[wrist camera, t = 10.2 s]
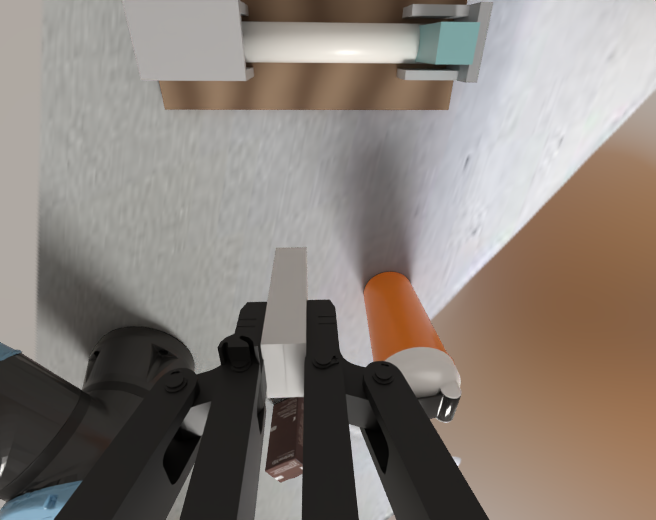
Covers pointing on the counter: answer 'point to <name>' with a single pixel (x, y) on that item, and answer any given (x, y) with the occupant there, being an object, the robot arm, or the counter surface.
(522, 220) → the counter surface
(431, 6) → the socket
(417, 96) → the board
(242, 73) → the sleeve
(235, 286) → the counter surface
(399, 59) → the bolt
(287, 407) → the box
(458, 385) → the shaker bottle
